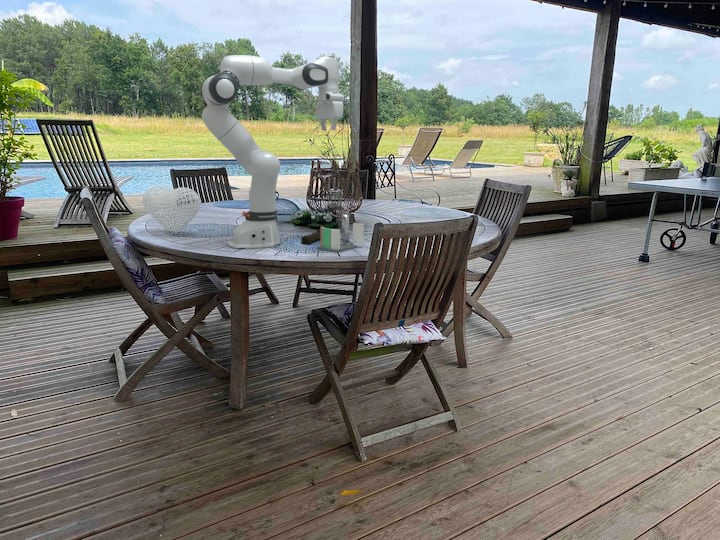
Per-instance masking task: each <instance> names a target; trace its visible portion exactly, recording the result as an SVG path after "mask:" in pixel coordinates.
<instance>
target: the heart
mask: <svg viewBox="0 0 720 540" xmlns="http://www.w3.org/2000/svg"><path fill="white" fill-rule="evenodd" d="M142 202H143V206H144V208H145V210H146V211H147V213H148V214H149V215H150V216H151V217H152V218H153V219H154V220H155V221H157V223H159V225H161V227H163V229H164V230H166V232H168V231H170V232H171V231H173V232H174V230H175V231H176V232H180V231H181V232H182V231H183V230H184V228H186V226H187V225H188V224H189V223H190V222H191V221H192V220H193V219H194V218H195V216H196V215H197V214H198V211H199V210H200V207H201V199H200V197H199V194H198V193H197V192H196V191H195V190H193V189H191V188H189V187H184V186H183V187H177V188H173V189H172V188H170V187H168V186H164V185H154V186H152V187H150V188H148V189H147V190H146V191H145V192H144V194H143V198H142ZM159 205H160V206H159ZM177 230H178V231H177ZM181 232H180V233H181Z"/></svg>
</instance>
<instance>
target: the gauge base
mask: <svg viewBox="0 0 720 540" xmlns="http://www.w3.org/2000/svg"><path fill="white" fill-rule="evenodd" d="M319 229H320V238H321V239H320V245H317V246H316V249H317V250H322V251H326V252H330V251H331V252H330V253H337V254H338V253H341V252H346V251H349V250H354V249H357V248H358V245H357V244H354V243H353V241H349V242H342V240H341V229H338V228H336V229H335V228H329V227H328V228H327V227H324V226H320V228H319ZM353 248H354V249H353Z"/></svg>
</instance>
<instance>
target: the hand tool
mask: <svg viewBox="0 0 720 540" xmlns="http://www.w3.org/2000/svg"><path fill="white" fill-rule="evenodd" d="M317 240H321V238H320V228H319V229H317V230H316V231H315V232H313V233H310V234H307V235H304V236H301V239H300V242H301V244H302V245H305V244H308V245H310V244H311V243H313V242H316V241H317Z"/></svg>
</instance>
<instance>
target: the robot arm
mask: <svg viewBox="0 0 720 540" xmlns="http://www.w3.org/2000/svg"><path fill="white" fill-rule="evenodd" d="M339 82H340V67H339V62H338V59H336V58H334V57H332V56H328V55H327V56H326V55H323V56H320V57H319V58H318V59H315V60H314V61H311V62H308V63H304V64H302V65H297V66H294V67H293V68H292V67H291V68H283V67H282V68H281V67H276V66H272V65H271V64H270V62H269V61H268V60H267V58H265V57H261V56H256V55H249V54H234V55H226V56H224V57H223V59H222V61H221V63H220V70H219V73H217V74H214V75H211V76H209V77H207V78H205V79H204V80H203V81H202V83H201V86H200V94H201V97H202V101H203V104H204V107H205V108H203V110H202V113H201V119H202V122H203V123H204V125H205V127H207V129H208V130H209V132H210V133H211V134H212V135H213V136H214V137H215V139H217V140H218V141H219V142H220V143H221V145H222V146H224V147H225V149H227V151H228V152H229V153H231V155H232V156H233V158H234V159H235V160H236V161H237V162H238V164H240V166H241V167H242V169H244V171H245V172H246V173H247V174H248V175H249V176H251V180H250V182H251V183H250V187H249V191H248V204H249V207H248V208H249V210H248V211H247V212H246V211H244V210H243V211H242V217H244V218H245V220H244V221H243V222H242V223H240V224H238V226H236V228H235V229H234V230H233V233H232V238H231V239H232V240H227V243H228V245H229V246H231V247H234V248H233V249H235V248H245V249H259V248H260V249H261V248H262V249H263V248H273V247H275V246H277V245H280V244H281V243H282V241H281V239H280V235H279V229H278V210H277V208H276V207H277V203H276V193H277V184H278V177H279V173H280V171H281V167H282V165H281V161H280V160H279V158H278V157H277V156H276V155H275V154H273V153H272V152H269V151H264V150H262V149H261V147H260V146H259V145H258V144H257V142H256V141H255V140H254V138H253V135H252V134H251V133H250V132H249V131H248V130H247V128H245V126H244V125H243V124H242V123H241V122H240V121H239V120H238V119H237V118H236V116H234V115H233V114H232V113H231V111H230V109H229V107H228V104H230V103H232V102H234V100H235V99H236V98H237V97H236V96H237V94H238V91H239V90H238V89H239V86H241V85H243V86H244V85H245V86H262V85H263V86H265V85H268V84H276V85H277V84H279V85H287V86H290V87H292V88H293V89H296V90H298V91H306V90H308V89H312V88H315V87H317V88H318V101H317V103H316V106H315V120H316V121H319V124H320V126H321V131H323V132H325V131H327V126H326V121H330V120H331V122H332V123H331V125H330V130H331V131H336V130H337V126H338V125H337V124H338V122H339V121H338V120H341V119H342V118H343V116H344V101H345V96H344V94H342V93H340V88H339ZM228 245H227V246H228ZM229 246H228V247H229ZM231 247H230V248H231Z"/></svg>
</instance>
